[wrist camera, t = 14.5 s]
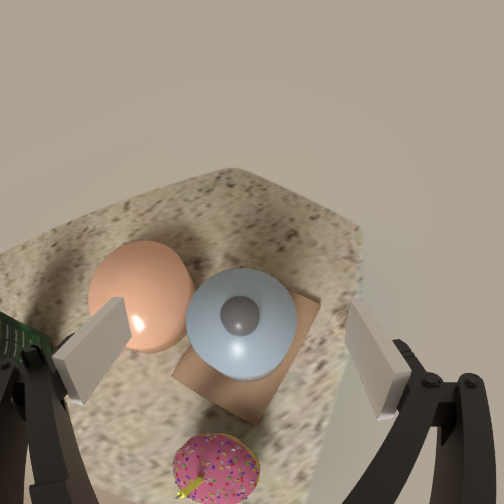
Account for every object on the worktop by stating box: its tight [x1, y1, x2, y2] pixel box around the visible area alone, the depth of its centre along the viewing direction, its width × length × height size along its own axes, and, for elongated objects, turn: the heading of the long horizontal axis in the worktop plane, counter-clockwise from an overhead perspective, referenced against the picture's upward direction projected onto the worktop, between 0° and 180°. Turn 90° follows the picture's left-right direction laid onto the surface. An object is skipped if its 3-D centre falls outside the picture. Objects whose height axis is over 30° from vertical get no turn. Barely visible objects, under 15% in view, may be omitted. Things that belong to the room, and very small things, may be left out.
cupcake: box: [173, 433, 260, 504], centre depth 20 cm, size 9×8×12 cm
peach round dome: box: [88, 240, 196, 353], centre depth 33 cm, size 13×13×5 cm
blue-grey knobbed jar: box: [186, 268, 297, 382], centre depth 26 cm, size 9×9×11 cm
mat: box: [171, 266, 321, 426], centre depth 32 cm, size 11×16×1 cm
